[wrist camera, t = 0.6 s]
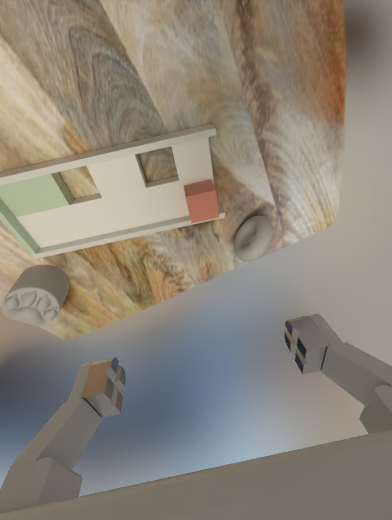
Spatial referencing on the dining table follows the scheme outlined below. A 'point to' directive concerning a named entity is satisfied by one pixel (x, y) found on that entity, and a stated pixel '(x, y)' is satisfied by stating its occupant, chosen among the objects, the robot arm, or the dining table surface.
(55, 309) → the lumpy-topped squat cylinder
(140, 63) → the dining table surface
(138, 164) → the tray
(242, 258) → the donut
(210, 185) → the block
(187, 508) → the robot arm
